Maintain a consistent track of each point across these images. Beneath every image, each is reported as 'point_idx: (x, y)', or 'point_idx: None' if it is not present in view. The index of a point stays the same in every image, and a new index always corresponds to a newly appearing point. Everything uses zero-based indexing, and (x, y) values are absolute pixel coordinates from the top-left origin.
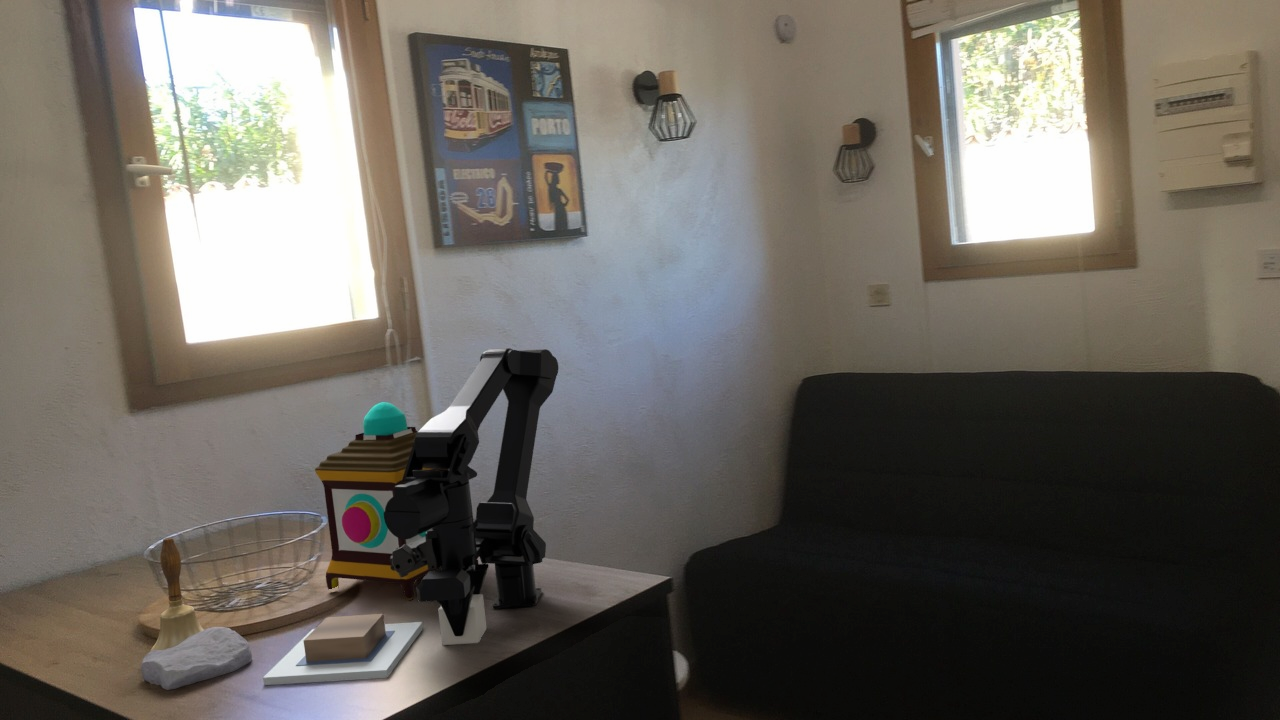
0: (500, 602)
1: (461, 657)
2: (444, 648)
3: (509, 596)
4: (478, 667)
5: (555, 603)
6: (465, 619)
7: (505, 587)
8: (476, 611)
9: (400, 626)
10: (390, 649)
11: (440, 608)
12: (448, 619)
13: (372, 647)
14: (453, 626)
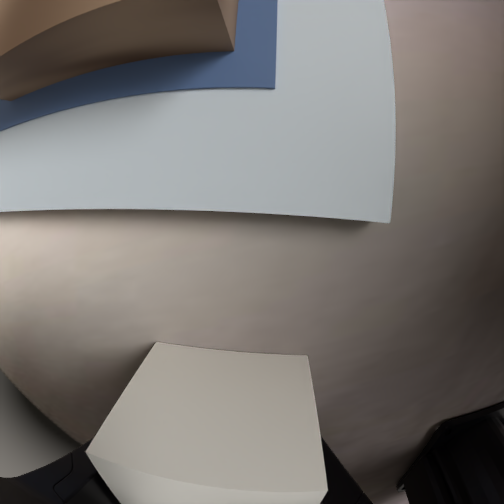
0: (453, 437)
1: (79, 391)
2: (129, 350)
3: (420, 483)
4: (50, 411)
5: (390, 500)
6: None
7: (432, 499)
8: None
9: (346, 105)
10: (50, 158)
11: (101, 462)
12: (85, 445)
13: (52, 79)
14: None
